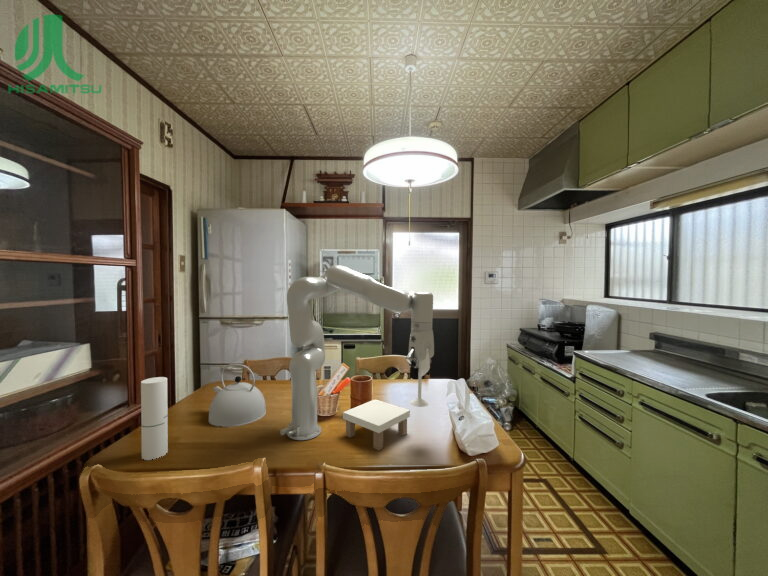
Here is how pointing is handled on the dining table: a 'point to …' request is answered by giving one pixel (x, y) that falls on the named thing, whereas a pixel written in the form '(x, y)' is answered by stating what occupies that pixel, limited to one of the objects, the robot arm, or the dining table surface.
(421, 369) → the champagne flute
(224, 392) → the kettle
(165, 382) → the cylindrical container
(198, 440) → the dining table surface
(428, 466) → the dining table surface
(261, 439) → the dining table surface
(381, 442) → the footstool
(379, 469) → the dining table surface
